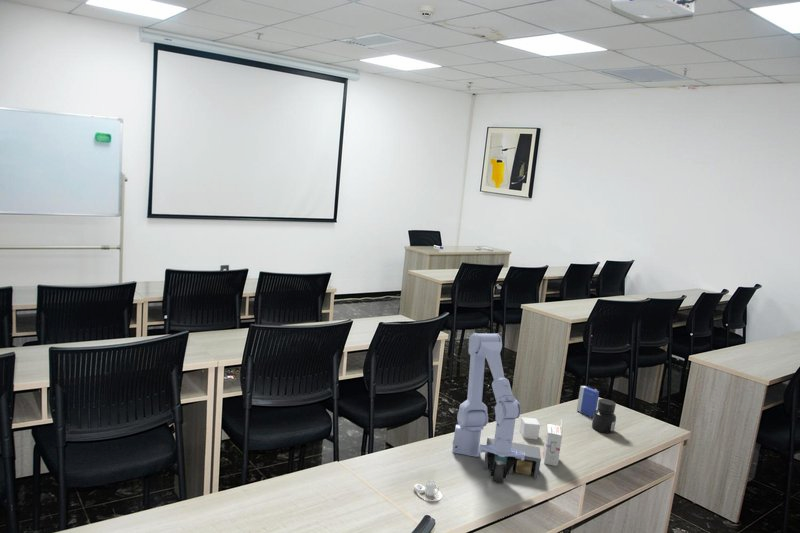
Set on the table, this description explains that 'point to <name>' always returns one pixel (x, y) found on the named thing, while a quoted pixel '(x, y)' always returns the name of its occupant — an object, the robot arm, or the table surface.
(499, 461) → the block
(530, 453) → the cubby shelf
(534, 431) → the white cube
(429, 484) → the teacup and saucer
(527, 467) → the ochre block
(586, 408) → the walkman
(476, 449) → the robot arm
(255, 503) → the table surface
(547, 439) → the ink cartridge box
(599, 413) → the ink bottle
